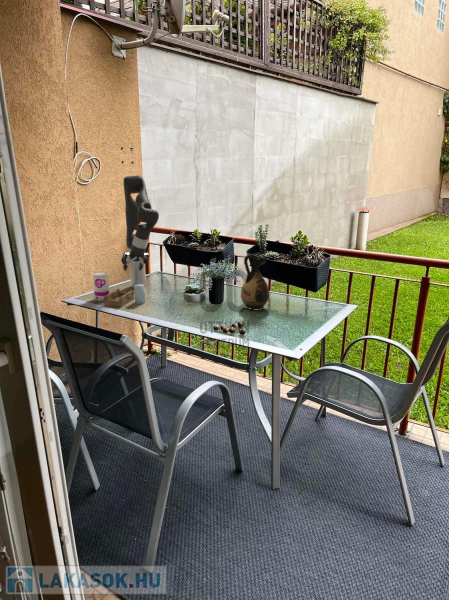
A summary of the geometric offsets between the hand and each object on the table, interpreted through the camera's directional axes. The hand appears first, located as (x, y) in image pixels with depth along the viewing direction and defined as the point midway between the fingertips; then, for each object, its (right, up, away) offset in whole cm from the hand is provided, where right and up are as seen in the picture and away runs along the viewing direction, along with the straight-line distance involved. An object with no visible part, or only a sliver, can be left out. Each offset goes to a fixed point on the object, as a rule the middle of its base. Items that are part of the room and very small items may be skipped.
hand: (132, 269), depth 237 cm
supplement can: (-21, -16, +18) cm, 32 cm away
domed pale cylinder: (+2, -18, +13) cm, 22 cm away
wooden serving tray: (-10, -17, +13) cm, 24 cm away
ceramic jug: (+65, -21, +7) cm, 68 cm away
